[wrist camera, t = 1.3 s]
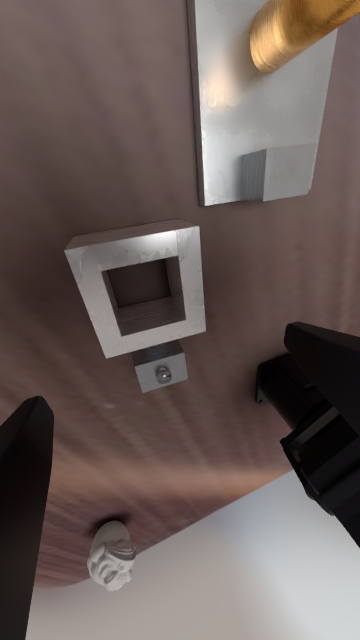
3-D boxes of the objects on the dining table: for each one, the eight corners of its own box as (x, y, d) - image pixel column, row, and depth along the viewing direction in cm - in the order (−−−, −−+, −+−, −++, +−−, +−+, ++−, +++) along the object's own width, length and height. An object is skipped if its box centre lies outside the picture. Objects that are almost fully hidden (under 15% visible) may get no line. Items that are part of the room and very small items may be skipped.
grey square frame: (187, 306, 19) (205, 331, 15) (105, 326, 17) (106, 358, 14) (178, 218, 15) (198, 225, 12) (73, 236, 14) (63, 250, 10)
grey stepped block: (179, 360, 21) (190, 383, 19) (138, 372, 20) (143, 398, 18) (172, 311, 18) (183, 331, 16) (124, 323, 18) (127, 346, 15)
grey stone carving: (142, 509, 34) (150, 575, 28) (114, 533, 35) (116, 601, 29) (108, 507, 31) (109, 580, 25) (78, 534, 32) (73, 610, 26)
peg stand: (300, 189, 16) (396, 187, 11) (199, 205, 15) (253, 212, 10) (334, -40, 11) (550, -259, 6) (183, -50, 10) (284, -357, 4)
